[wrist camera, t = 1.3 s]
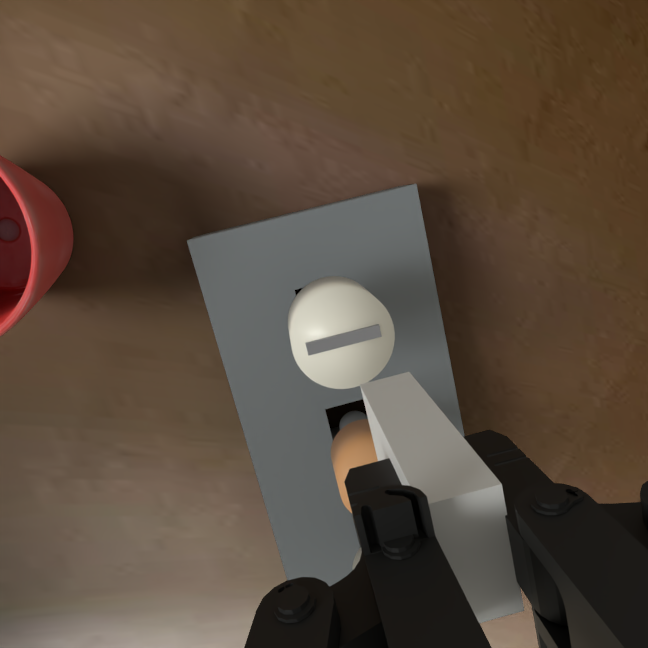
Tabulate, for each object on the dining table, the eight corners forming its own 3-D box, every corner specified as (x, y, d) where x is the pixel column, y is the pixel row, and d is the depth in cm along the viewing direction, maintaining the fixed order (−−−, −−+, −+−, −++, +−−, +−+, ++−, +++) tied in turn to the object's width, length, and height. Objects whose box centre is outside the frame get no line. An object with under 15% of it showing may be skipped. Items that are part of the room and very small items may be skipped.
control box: (298, 590, 42) (302, 629, 38) (195, 236, 36) (186, 240, 32) (470, 542, 43) (491, 575, 39) (400, 185, 36) (416, 183, 32)
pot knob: (331, 460, 36) (349, 532, 28) (317, 405, 35) (332, 463, 27) (390, 444, 36) (424, 511, 28) (377, 389, 35) (409, 442, 27)
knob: (296, 356, 34) (305, 401, 26) (276, 279, 33) (279, 302, 25) (373, 336, 34) (405, 375, 26) (356, 259, 33) (383, 276, 25)
